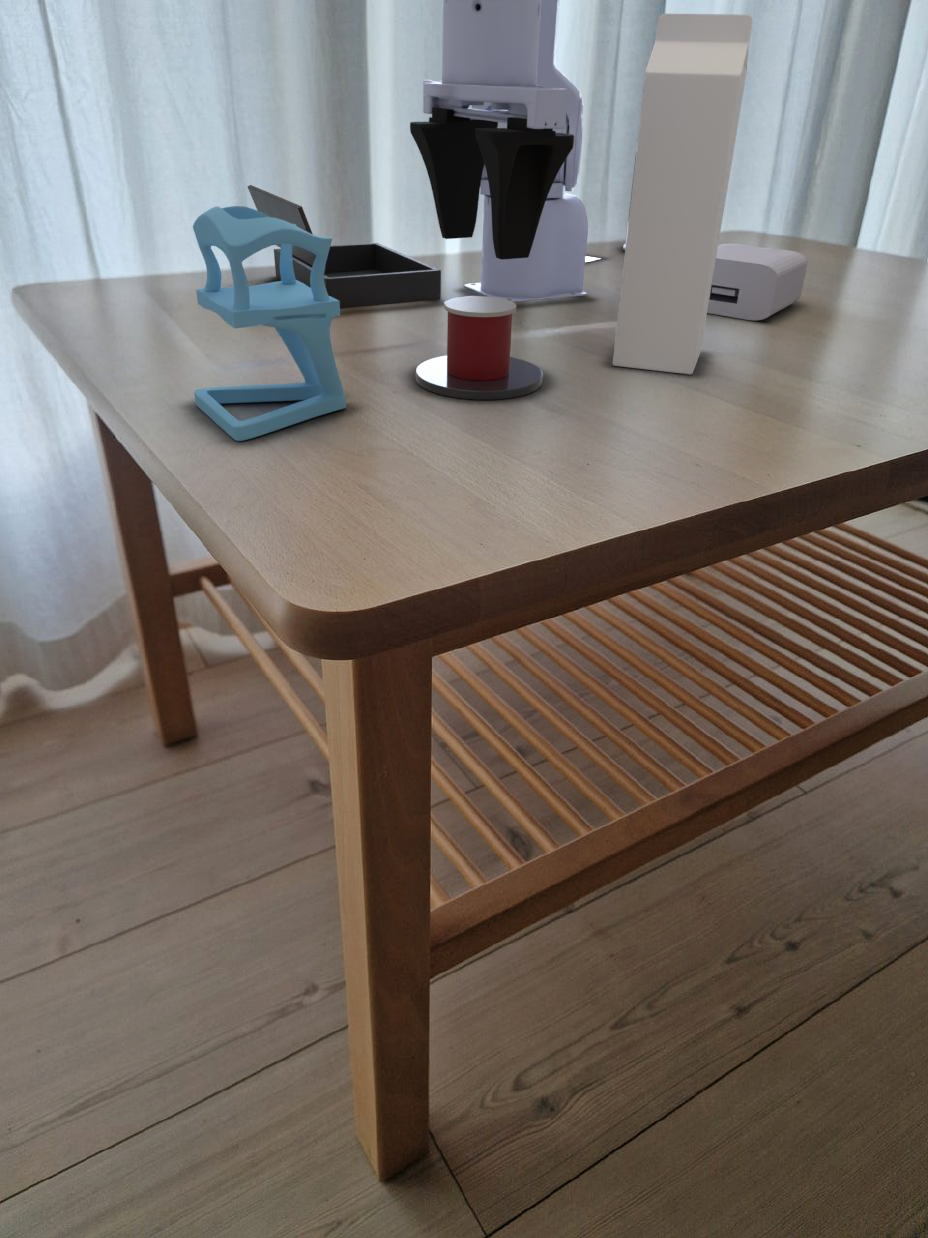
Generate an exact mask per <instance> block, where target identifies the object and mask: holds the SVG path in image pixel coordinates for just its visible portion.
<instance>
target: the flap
mask: <svg viewBox="0 0 928 1238" xmlns="http://www.w3.org/2000/svg"><path fill="white" fill-rule="evenodd" d="M247 190H248V192H249V194H250V196H251V199H252V201H253V203H254V206H255V209H256V210H257V211H259V212H261V213H263V214H265V215H267V216H269V217H271V218H277V219H281V220H284V221H286V222H289V223H291V224H296V226H297V227H299V228H301V229H303V230H305V231H307V232H308V233H310V234H313V235H314V233H313V230H312V229H311V226H310V223H309V220H308V218H307V216H306V213H305V210H304V207H303V206H302V205H300V204H297V203H296V202H292V201H290V200H287V199H285V198H283V197H281V196H279V195H276V194H273V193H271V192H269V191H267V190H264V189H262V188H259V187H257V186H255V185H252V184H249V185H247ZM275 246H276V247H279V249H281V244H277V245H275ZM292 254H293V255H294V256H296V257H298V258H300V259H301V260H303V261H305V262H307V263H309V264H310V265H312V266H313V264H314V261H315V258H316V255H315V254H314V253H312V252H310V251H308V250H306V249H304V248H301V247H299V246H295V245H292ZM325 270H327V269H326V266H325ZM325 270H324V271H325Z"/></svg>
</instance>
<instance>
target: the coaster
mask: <svg viewBox="0 0 928 1238" xmlns="http://www.w3.org/2000/svg"><path fill="white" fill-rule="evenodd" d="M543 379H544V373H543V371H542V370H541V368H540V367H538V366H537V365H536V364H535V363H533V362H532V363H531V362H529V361H526V360H524V359H521V358H516V357H512V356H510V367H509V374H508V375H507V376H506V377H503V378H500V379H496V380H489V381H473V380H465V379H460V378H456V377H454V376H451V375H450V374H449V373H448V372H447V354H446V355H441V356H436V357H432V358H430V359H427V360H425V361H423V362H421V363H419V364H418V365H417V366H416V368H415V382H416V383H417V384H418V386H420V387H421V388H422V389H424V390H426V391H429V392H431V393H434V394H437V395H441V396H446V397H450V398H456V399H462V400H463V399H465V400H477V401H479V400H480V401H481V400H483V401H489V400H491V401H492V400H494V401H495V400H504V399H506V400H507V399H512V398H517V397H518V398H519V397H523V396H526V395H529V394H532V393H533V392H535V391H537V390H539V388H541V386H542V385H543V381H544V380H543Z"/></svg>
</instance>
